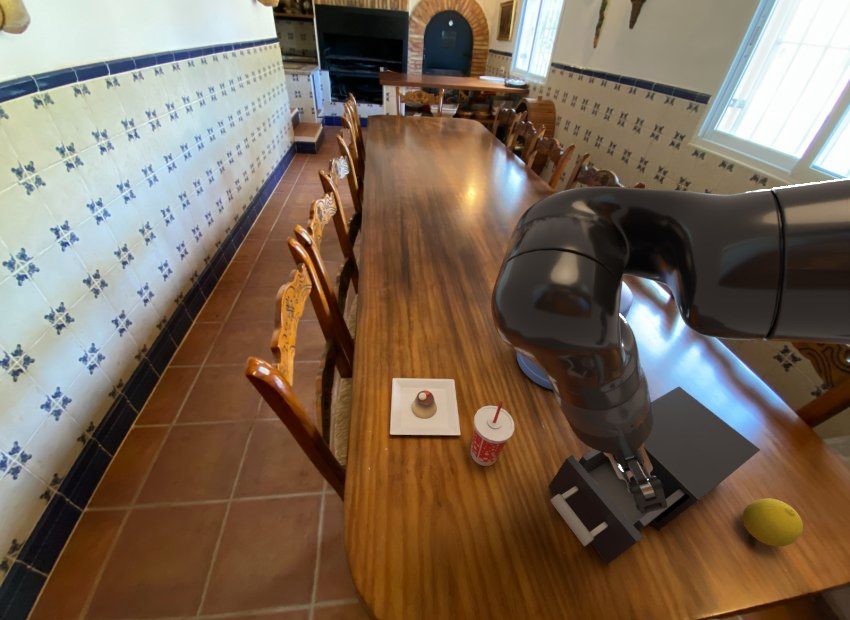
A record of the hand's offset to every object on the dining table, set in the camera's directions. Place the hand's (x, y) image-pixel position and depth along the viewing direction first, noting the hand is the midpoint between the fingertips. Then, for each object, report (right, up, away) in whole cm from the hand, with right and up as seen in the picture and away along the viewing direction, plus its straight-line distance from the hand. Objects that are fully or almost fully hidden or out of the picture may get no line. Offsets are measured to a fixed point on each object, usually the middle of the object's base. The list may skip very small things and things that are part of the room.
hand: (623, 456), depth 43 cm
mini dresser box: (+2, -12, +11) cm, 16 cm away
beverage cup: (-14, -6, +17) cm, 23 cm away
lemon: (+25, -16, +10) cm, 31 cm away
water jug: (+3, +6, +33) cm, 34 cm away
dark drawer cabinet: (+14, -9, +16) cm, 24 cm away
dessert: (-24, -1, +23) cm, 33 cm away
